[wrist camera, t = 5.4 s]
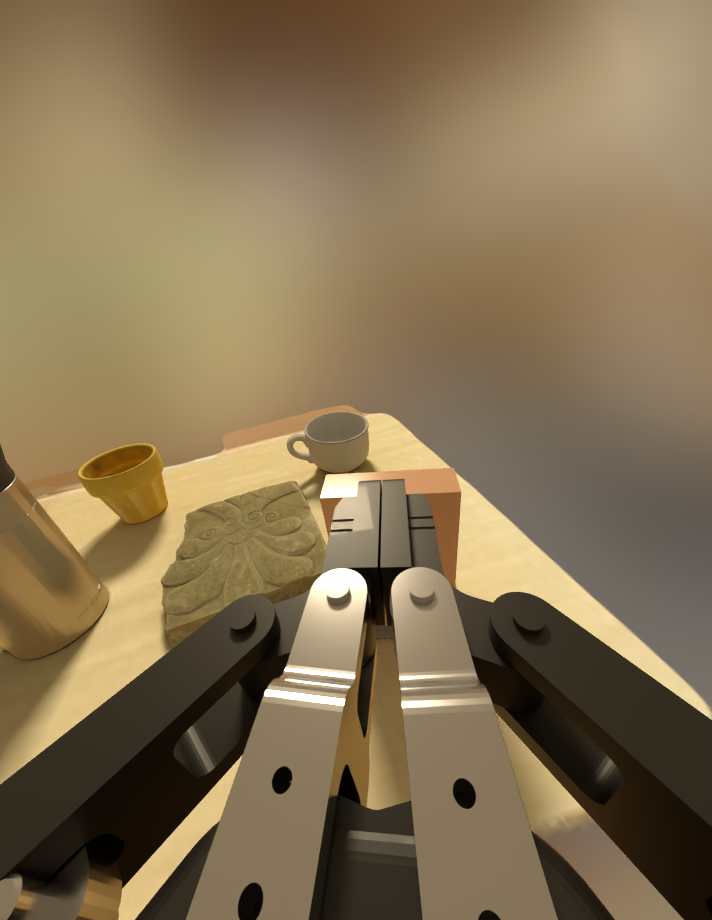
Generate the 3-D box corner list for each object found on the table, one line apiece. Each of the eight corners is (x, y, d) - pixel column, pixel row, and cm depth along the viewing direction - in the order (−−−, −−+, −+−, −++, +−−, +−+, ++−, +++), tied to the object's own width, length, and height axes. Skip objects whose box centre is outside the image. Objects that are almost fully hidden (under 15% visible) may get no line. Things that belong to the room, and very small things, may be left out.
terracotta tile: (348, 625, 32) (319, 498, 24) (350, 597, 35) (326, 473, 27) (452, 626, 31) (461, 491, 23) (447, 597, 34) (453, 467, 25)
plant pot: (192, 490, 57) (169, 441, 52) (154, 532, 48) (122, 478, 43) (140, 491, 59) (113, 443, 54) (95, 532, 50) (57, 480, 45)
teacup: (368, 445, 63) (363, 406, 59) (376, 476, 54) (372, 433, 50) (296, 456, 63) (287, 418, 59) (292, 489, 54) (281, 447, 50)
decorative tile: (299, 492, 54) (295, 474, 52) (340, 584, 38) (336, 563, 36) (179, 531, 49) (169, 513, 47) (166, 657, 33) (150, 637, 31)
